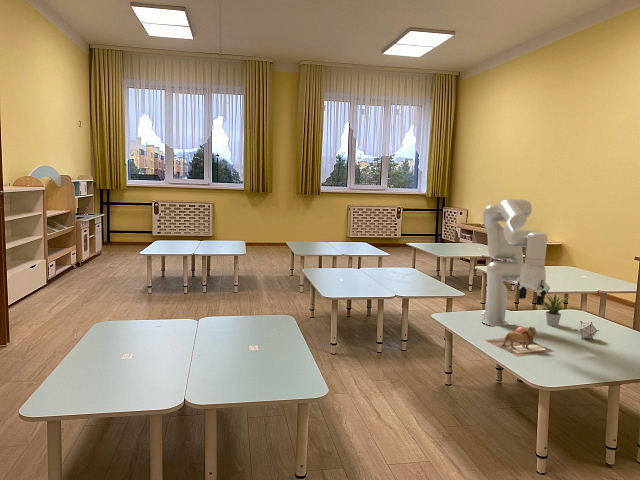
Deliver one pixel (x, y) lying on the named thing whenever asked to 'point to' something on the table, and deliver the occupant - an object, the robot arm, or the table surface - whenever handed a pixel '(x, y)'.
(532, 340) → the dome housing
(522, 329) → the pop dome
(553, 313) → the house plant
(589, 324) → the game die
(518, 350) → the brown flat square board
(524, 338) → the lion figurine
